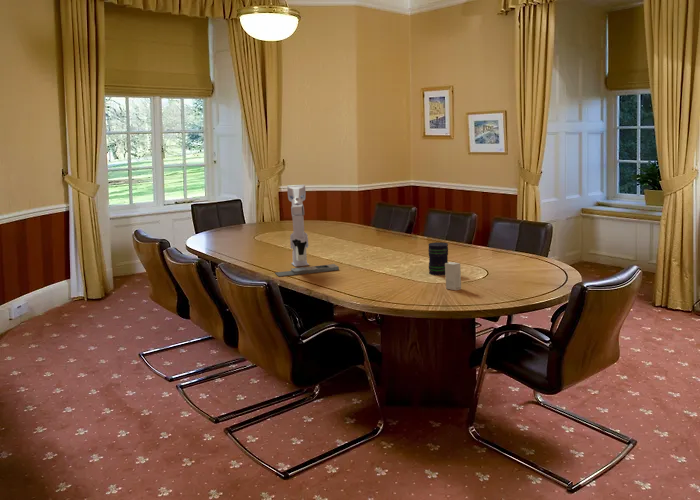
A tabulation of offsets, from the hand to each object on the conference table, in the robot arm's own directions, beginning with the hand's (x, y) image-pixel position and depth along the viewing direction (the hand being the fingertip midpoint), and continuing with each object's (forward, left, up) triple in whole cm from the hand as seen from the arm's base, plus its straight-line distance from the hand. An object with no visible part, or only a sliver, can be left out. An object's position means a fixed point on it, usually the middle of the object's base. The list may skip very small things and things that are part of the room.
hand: (300, 254), depth 359 cm
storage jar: (+35, +63, -10) cm, 72 cm away
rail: (0, +8, -10) cm, 12 cm away
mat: (0, -8, -10) cm, 13 cm away
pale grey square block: (0, +1, -3) cm, 3 cm away
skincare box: (+67, +55, -10) cm, 87 cm away
